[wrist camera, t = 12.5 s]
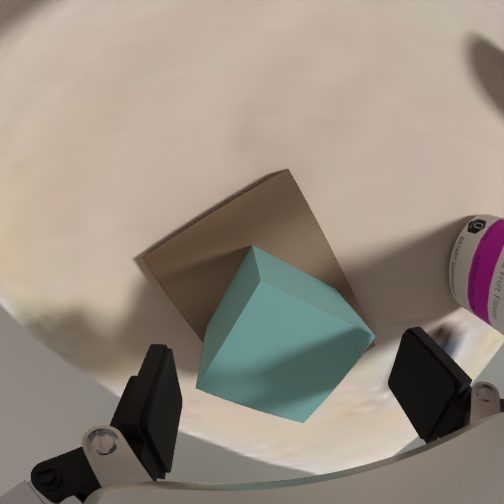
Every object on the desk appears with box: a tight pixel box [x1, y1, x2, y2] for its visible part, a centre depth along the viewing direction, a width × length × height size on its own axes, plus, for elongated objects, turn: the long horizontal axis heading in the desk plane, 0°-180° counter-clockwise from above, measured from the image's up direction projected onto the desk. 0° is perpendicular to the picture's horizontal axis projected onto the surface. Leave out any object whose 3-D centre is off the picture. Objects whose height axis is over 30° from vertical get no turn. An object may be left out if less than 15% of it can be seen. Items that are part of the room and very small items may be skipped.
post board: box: [143, 169, 375, 352], centre depth 16 cm, size 14×10×6 cm
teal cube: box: [196, 245, 376, 423], centre depth 14 cm, size 6×6×6 cm
